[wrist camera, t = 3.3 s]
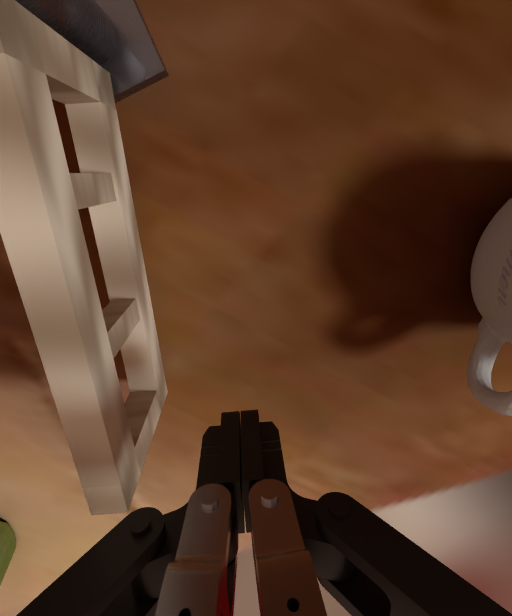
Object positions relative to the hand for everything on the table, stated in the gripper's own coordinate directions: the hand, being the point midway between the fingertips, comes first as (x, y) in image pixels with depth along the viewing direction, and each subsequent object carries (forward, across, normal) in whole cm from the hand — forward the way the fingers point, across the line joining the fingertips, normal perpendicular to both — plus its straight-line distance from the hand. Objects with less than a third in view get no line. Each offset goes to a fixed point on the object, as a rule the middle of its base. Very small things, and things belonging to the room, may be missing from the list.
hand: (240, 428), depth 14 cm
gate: (+8, +6, -6) cm, 11 cm away
